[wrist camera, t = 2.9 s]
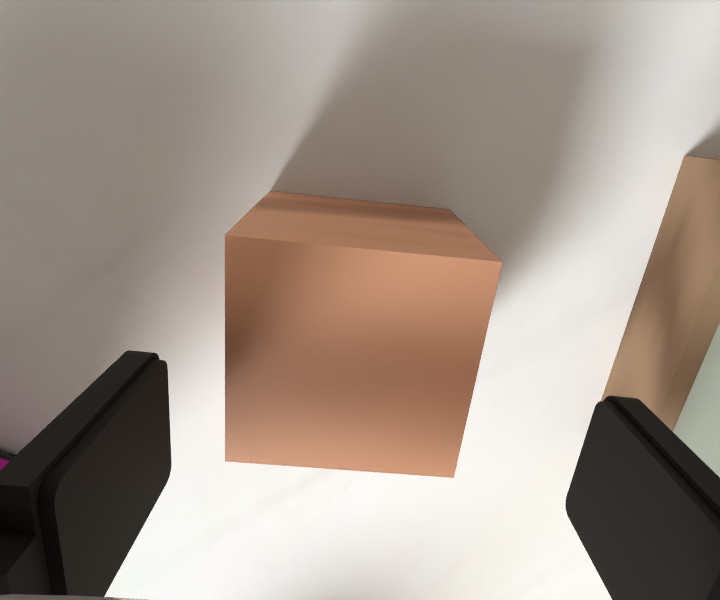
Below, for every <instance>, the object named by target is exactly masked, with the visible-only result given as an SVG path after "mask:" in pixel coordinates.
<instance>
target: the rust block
mask: <svg viewBox="0 0 720 600" xmlns="http://www.w3.org/2000/svg"><path fill="white" fill-rule="evenodd" d="M501 266H502V261H501V260H500V259H499V258H498V257H497V256H496V255H495V254H494V253H493V252H492V251H491V250H490V249H489V248H488V247H487V246H486V245H485V244H484V243H483V242H482V241H481V240H480V239H479V238H478V237H477V236H476V235H475V234H474V233H473V232H472V231H471V230H470V229H469V228H468V227H467V226H466V225H465V224H464V223H463V222H462V221H461V220H460V219H459V218H458V217H457V216H456V215H455V214H454V213H453V212H452V211H451V210H449V209H439V208H430V207H420V206H410V205H400V204H391V203H381V202H371V201H361V200H352V199H342V198H332V197H322V196H313V195H303V194H293V193H284V192H274V191H270V192H269V193H268V194H267V195H266V196H265V197H264V198H262V199H261V200H260V201H259V202H258V203H257V204H256V205H255V206H254V207H253V208H252V209H251V210H250V211H249V212H248V213H247V214H246V215H245V216H244V217H243V218H242V219H241V220H240V221H239V222H238V223H237V224H236V225H235V226H234V227H233V228H232V229H231V230H230V231H229V232H228V233H227V234H226V235H225V461H228V462H242V463H256V464H270V465H284V466H298V467H312V468H326V469H340V470H354V471H368V472H382V473H396V474H410V475H424V476H438V477H451V478H454V474H455V469H456V465H457V460H458V456H459V452H460V447H461V443H462V438H463V434H464V429H465V425H466V421H467V416H468V412H469V407H470V403H471V399H472V394H473V390H474V385H475V381H476V376H477V372H478V368H479V363H480V359H481V354H482V350H483V346H484V341H485V337H486V332H487V328H488V323H489V319H490V315H491V310H492V306H493V301H494V297H495V292H496V288H497V284H498V279H499V275H500V270H501Z"/></svg>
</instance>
